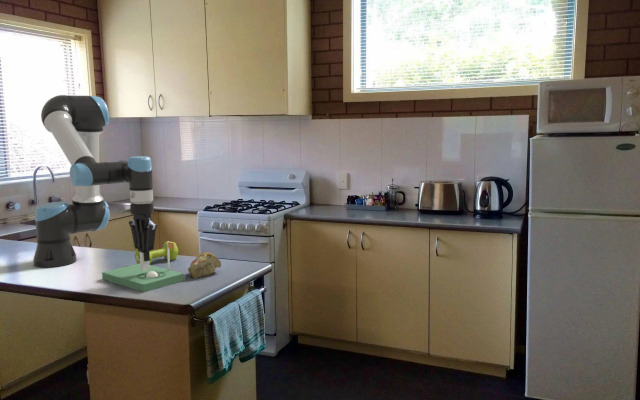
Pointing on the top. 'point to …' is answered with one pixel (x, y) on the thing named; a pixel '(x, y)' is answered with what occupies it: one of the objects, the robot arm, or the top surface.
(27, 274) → the top surface
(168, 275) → the mat
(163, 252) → the dumbbell
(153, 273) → the ball
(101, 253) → the top surface
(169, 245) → the flag
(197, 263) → the rock
